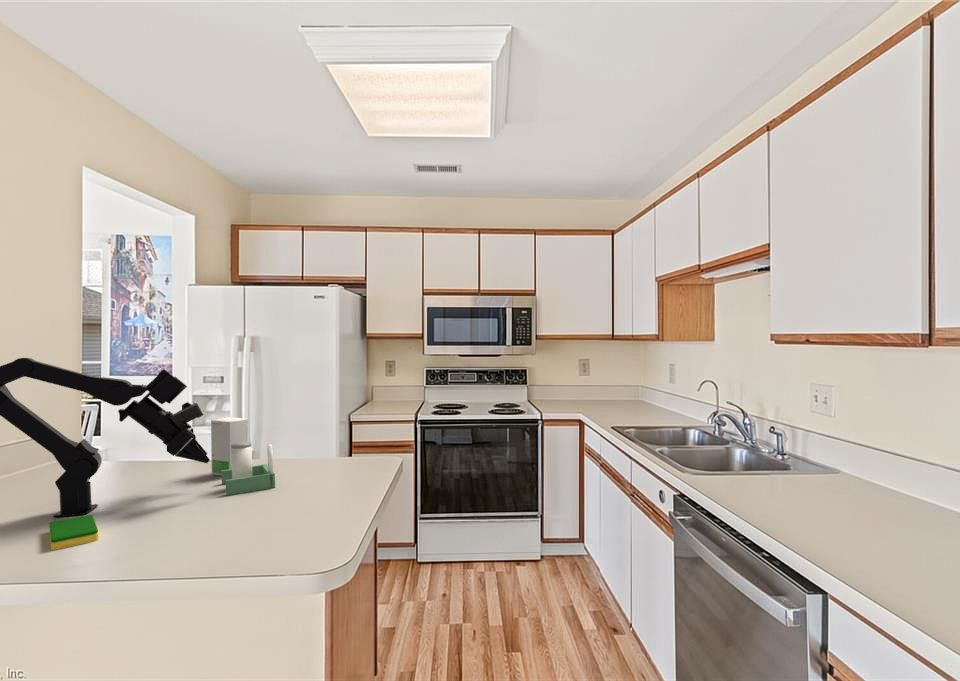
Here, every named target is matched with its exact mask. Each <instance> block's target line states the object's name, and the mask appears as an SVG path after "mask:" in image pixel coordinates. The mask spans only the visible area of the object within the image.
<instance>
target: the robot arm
mask: <svg viewBox="0 0 960 681" xmlns="http://www.w3.org/2000/svg"><path fill="white" fill-rule="evenodd" d="M24 377H26V378H30V379H34V380H38V381H40V382H41V381H42V382H45V383H48V384H53V385H57V386H61V387H64V388H69V389H72V390H76V391H79V392H83V393H85V394H87V395H89V396H92V397H94V398H96V399H98V400H100V401H102V402H105V403H107V404H109V405H112V406H119V407H120V406H123V405H125V404H128V403H129V402H130V401H131V400H132V399H133V398H137V397H138V398H139V397H142V395H144V394H145V393H146V392H148V393H147V394H145V396H144V397H143V398H142V399H140V400H139V401H137V400H135V399H134V400H132V401H131V403H129V405H127V406H126V407H125V408H120V409H118V411H117V412H118V414H119V416H118V417H119V420H118V421H119V422H123V421H125V419H127V418H128V417H129V418H131V419H132V420H134V421H135V422H136V423H137V424H139V425H140V426H141V427H143V428H144V429H146V430H147V433H149V434H151V435H154V436H155V437H156V438H157V439H159V440H160V441H162V444H163V445H165V446H166V452H167V453H168V454H170V455H171V456H173V457H174V456H175V457H178V458H183V459H186V460H192V461H196V462H199V463H204V464H208V463H209V462H211V460H210V459H211V458H209V457H208V456H207V455H208V452H207V451H206V450H205V449H204V448H203V446H202V445H201V444H200V443H199V442H198V440H197V436H196V435H195V433H194V428H193V427H192V425H191V424H189V422H192V421H193V420H195V419H199V418H201V417H202V416H204V413H203V411H202V410H201V407H200V405H199V404H198V403H197V402H194V403H193V404H191V403H190V402H188V401H187V402H184V403H183V404H181V409H180V410H178V411H177V412H175V413H172V412H171V411H168V410H165V409H164V408H163V407H161V406H160V405H159V404H161V405H164V404H166V403H167V404H171V403H172V402H173V401H174V400H175V399H177V397H178V396H179V395H180V394H181V393H182V392H183V391H184V390H185V389H186V388H187V387H188V386H187V385H186V384H185V383H184V382H183V381H182V380H180V379H179V378H178V377H176V376H174V375H173V374H171V373H170V372H169V371H167V369H162V370H161V371H160V372H159V373H158V374H157V376H155V377H154V378H153V379H152V380H151V381H150V382H149V383H148V384H147V385H146V384H143V383H142V384H132V383H131V381H129V380H126V379H122V378H121V379H120V378H112V377H103V376H94V375H93V376H92V375H89V374H87V373H86V374H85V373H82V372H78V371H76V370H75V371H74V370H71V369H67V368H62V367H59V366H56V365H52V364H49V363H46V362H45V363H44V362H41V361H37V360H35V359H33V358H31V357H30V358H29V357H20V358H16V359H15V360H13V361H11V362H7V363H5V364H3V365H0V417H2V418H3V419H5V421H7V422H8V423H10V424H11V425H13V426H14V427H15V428H17V430H19V431H21V432H22V433H24V434H25V435H26V436H27V437H29V438H30V439H32V440H33V441H34V442H35V443H37V444H38V445H39V446H41V447H42V448H44V449H45V450H46V451H47V452H50V453H51V455H53V457H54V459H56V461H57V463H58V464H59V466H60V467H61V468H62V469H63V470H64V471H63V473H62V474H61V475H60V476H59V477H58V478H57V479H56V480H55V481H54V482H55V483H54V484H55V485H56V488H57V489H58V491H59V492H58V493H59V508H60V509H59V511H58V512H56V513H54V514H53V516H52V517H53V518H62V517H63V518H64V517H70V516H81V515H82V516H83V515H88V513H90V512H92V511H93V510H95V509H96V508H97V507H99V504H98V503H95V504H92V486H91V481H90V480H91V478H92V477H93V476H94V475H96V473H97V472H98V470H99V469H100V467H101V465H102V456H101V454H100V453H99V452H98V451H99V450H100V448H97V447H94V446H92V444H90V443H89V441H88V440H86V439H85V438H83V439H82V440H80V441H79V442H77V441H74V440H72V439H70V438H68V437H67V436H65V435H64V434H63V433H62V432H60V431H59V430H57V429H56V428H55V427H54V426H52V425H51V424H50V423H48V422H47V421H46V420H44V419H43V418H41V417H40V416H39V415H37V414H36V413H35V412H34V411H32V410H31V409H29V408H28V407H27V406H26V405H25V404H23V403H22V402H21V401H19V400H17V398H16V397H14V396H13V394H12V393H11V391H10V390H9V388H8V387H7V386H6V385H7V384H9V383H13V382H14V381H17V380H20V379H21V378H24ZM149 397H152V399H154V400H152V399H151V398H149ZM154 401H156V402H157V403H156V402H154ZM158 403H159V404H158Z"/></svg>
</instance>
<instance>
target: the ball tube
mask: <svg viewBox="0 0 960 681" xmlns="http://www.w3.org/2000/svg"><path fill="white" fill-rule="evenodd" d="M252 444H253V443H252V442H251V441H248V442H239V443H233V444H231V456H232V479H235V478H242V477H249V476H253V473H252V466H253V450H252V448H253V447H252Z"/></svg>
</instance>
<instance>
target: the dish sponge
mask: <svg viewBox="0 0 960 681" xmlns="http://www.w3.org/2000/svg"><path fill="white" fill-rule="evenodd" d="M49 537H50V538H49V539H50V540H49V541H50V548H51V551H56V550H61V549H65V548H71V547H74V546H80V545H83V544H84V545H85V544H88V543H93V542H97V541H99V529H98V526H97V524H96V521H95V518H94V516H93V514H84V515H82V516H81V515H79V516H76V517H72V518H71V517H70V518H66V519H60V520H54V521H51V522H49Z"/></svg>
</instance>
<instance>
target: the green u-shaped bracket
mask: <svg viewBox="0 0 960 681" xmlns="http://www.w3.org/2000/svg"><path fill="white" fill-rule="evenodd" d="M266 445H267V447H266V448H267V449H266V450H267V451H266V452H267V453H266V454H267V464H266V463H265V464H257V465H252V473H253V476H249V477H242V478H235V479H232V469H228V470H221V485H225V493H226V496H231V495H237V494H243V493H249V492H254V491H261V490H268V489H275V488H276V475H275V474H276V473H275V472H274V460H273V459H274V458H273V457H274V456H273V444H269V443H267V444H266Z"/></svg>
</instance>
